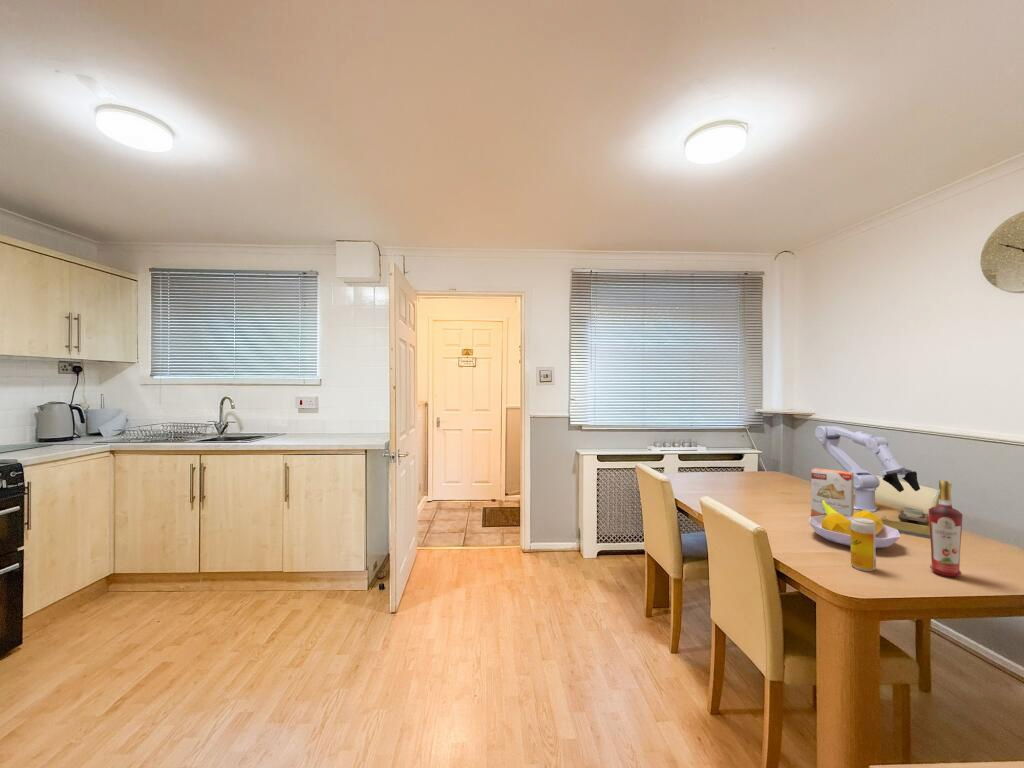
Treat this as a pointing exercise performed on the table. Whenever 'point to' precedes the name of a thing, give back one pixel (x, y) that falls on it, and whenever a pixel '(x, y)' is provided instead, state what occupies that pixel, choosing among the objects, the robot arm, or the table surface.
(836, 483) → the cracker box
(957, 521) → the liquor
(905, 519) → the square caster platform
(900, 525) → the plate
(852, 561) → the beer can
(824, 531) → the fruit bowl
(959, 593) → the table surface
